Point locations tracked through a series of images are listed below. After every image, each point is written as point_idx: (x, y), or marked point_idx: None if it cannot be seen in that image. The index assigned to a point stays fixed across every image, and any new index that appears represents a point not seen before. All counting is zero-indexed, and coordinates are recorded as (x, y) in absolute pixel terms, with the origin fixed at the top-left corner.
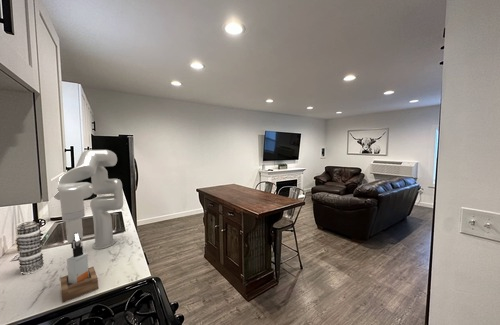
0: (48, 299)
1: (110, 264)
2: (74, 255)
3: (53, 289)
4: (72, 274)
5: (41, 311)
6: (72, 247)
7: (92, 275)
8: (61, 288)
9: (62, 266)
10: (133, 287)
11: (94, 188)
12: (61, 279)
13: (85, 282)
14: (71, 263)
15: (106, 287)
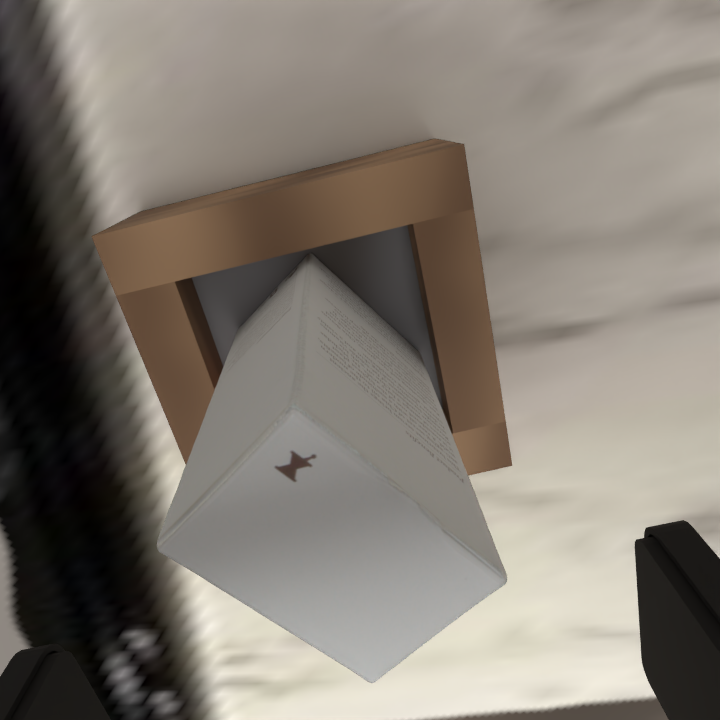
0: (279, 55)
1: (626, 507)
2: (4, 702)
3: (468, 57)
4: (242, 357)
5: (79, 42)
6: (647, 564)
7: None
8: (153, 224)
9: None
10: (119, 669)
11: None
12: (398, 172)
13: (178, 439)
14: (219, 446)
15: None
